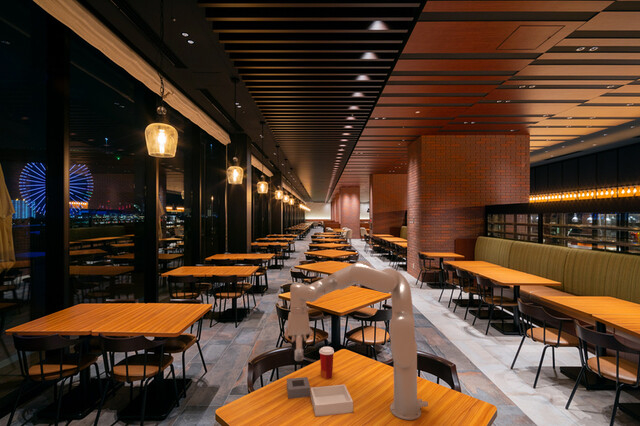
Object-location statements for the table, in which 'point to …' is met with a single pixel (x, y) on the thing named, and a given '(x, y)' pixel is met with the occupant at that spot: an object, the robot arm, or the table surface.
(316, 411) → the tray
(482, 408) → the table surface
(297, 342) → the pin
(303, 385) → the block
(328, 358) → the paper cup
